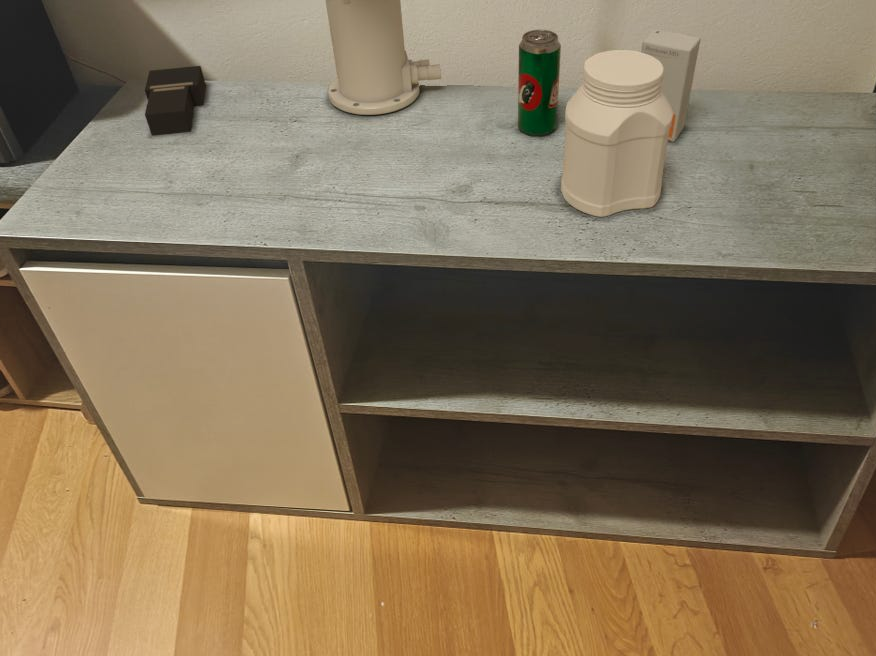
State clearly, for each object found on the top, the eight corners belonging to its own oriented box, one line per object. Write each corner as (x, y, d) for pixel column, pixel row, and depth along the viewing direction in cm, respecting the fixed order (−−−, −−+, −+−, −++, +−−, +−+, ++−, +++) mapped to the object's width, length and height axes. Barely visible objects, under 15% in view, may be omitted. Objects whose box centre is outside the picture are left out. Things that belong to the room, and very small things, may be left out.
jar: (637, 161, 98) (654, 40, 88) (673, 203, 92) (695, 78, 81) (549, 177, 96) (555, 55, 86) (579, 222, 90) (589, 96, 79)
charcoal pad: (206, 85, 115) (200, 64, 113) (203, 105, 111) (197, 84, 109) (155, 90, 114) (149, 69, 112) (151, 110, 110) (144, 89, 108)
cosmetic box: (629, 133, 103) (640, 41, 95) (640, 118, 106) (652, 27, 98) (675, 143, 101) (690, 50, 93) (685, 128, 104) (701, 36, 95)
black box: (194, 106, 111) (188, 85, 109) (190, 131, 106) (184, 109, 104) (157, 110, 110) (150, 88, 108) (151, 135, 105) (144, 113, 103)
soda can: (557, 137, 103) (562, 45, 94) (517, 138, 103) (519, 46, 95) (555, 118, 106) (560, 27, 98) (517, 118, 107) (518, 28, 98)
